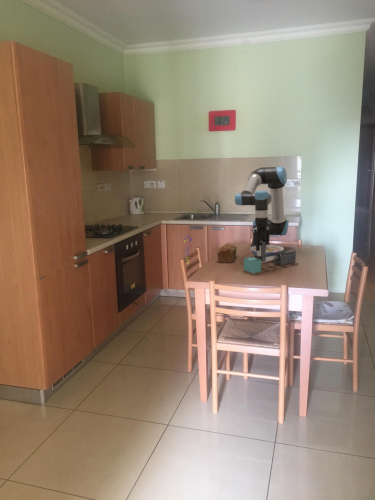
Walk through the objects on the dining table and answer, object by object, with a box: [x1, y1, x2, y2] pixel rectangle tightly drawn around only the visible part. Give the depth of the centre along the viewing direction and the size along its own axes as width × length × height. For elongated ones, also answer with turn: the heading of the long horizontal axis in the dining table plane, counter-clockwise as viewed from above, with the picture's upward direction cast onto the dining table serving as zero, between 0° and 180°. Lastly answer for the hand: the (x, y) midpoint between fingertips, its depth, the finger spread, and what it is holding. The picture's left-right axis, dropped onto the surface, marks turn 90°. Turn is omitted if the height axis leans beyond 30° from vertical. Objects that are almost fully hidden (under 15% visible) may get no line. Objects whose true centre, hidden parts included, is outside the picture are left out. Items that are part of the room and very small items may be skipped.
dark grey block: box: [273, 249, 297, 266], centre depth 250 cm, size 13×6×8 cm, turn 122°
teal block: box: [243, 256, 262, 273], centre depth 236 cm, size 6×9×8 cm, turn 32°
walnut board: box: [242, 261, 299, 276], centre depth 245 cm, size 38×9×1 cm, turn 122°
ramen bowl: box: [249, 244, 285, 258], centre depth 269 cm, size 25×23×8 cm
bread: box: [217, 244, 237, 264], centre depth 271 cm, size 19×11×10 cm, turn 163°
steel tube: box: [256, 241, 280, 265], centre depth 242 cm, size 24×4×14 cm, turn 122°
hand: (261, 255), depth 239 cm, fingers closed on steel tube, 3 cm apart
